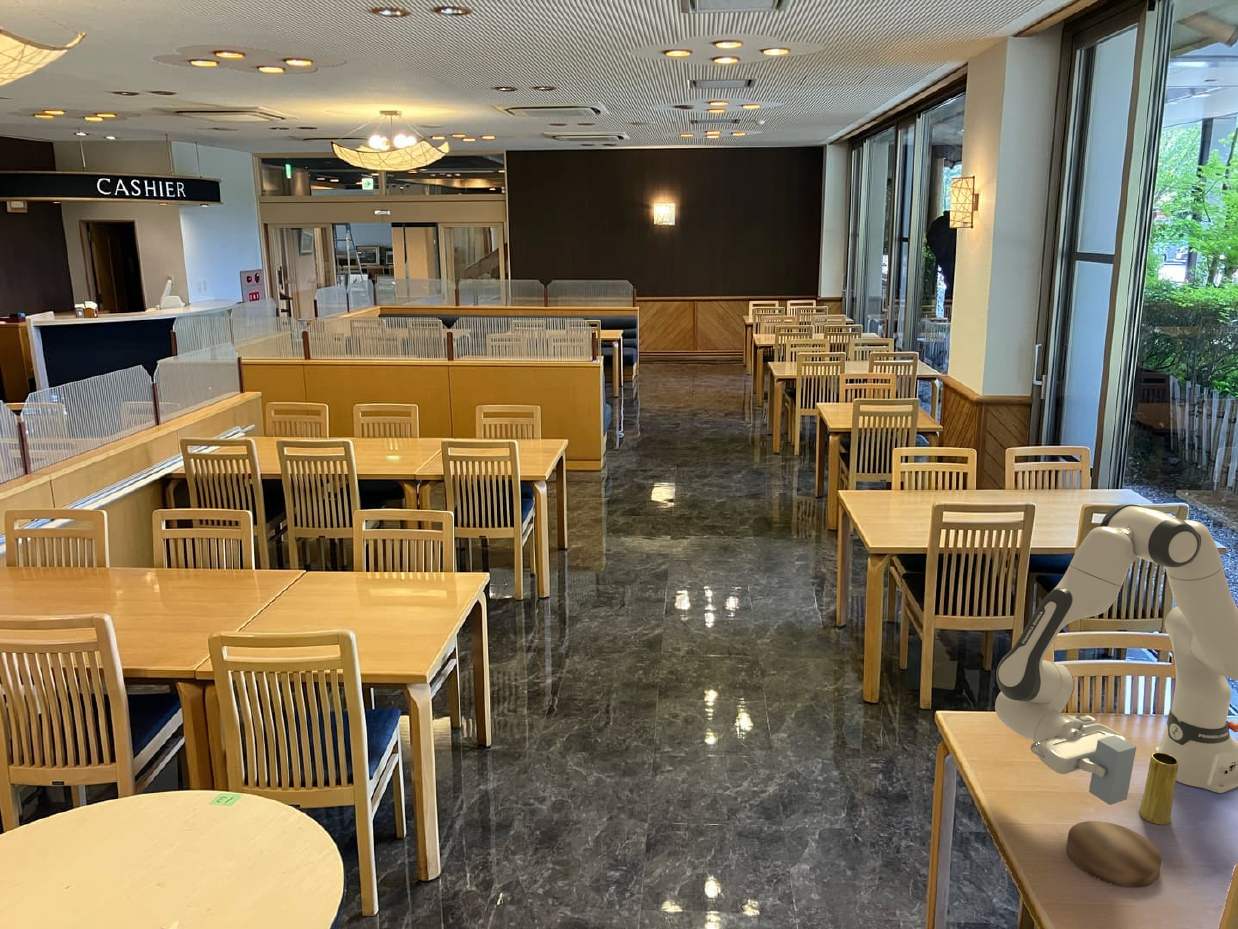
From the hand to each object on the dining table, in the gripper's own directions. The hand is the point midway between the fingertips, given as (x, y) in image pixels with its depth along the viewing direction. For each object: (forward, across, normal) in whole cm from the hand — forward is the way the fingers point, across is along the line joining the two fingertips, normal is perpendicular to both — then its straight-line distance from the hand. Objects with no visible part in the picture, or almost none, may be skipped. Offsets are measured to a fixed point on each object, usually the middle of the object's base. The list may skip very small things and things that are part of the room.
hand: (1116, 769), depth 198 cm
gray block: (-1, 0, +6) cm, 7 cm away
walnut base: (+4, -2, +18) cm, 18 cm away
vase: (-3, +20, +18) cm, 27 cm away
